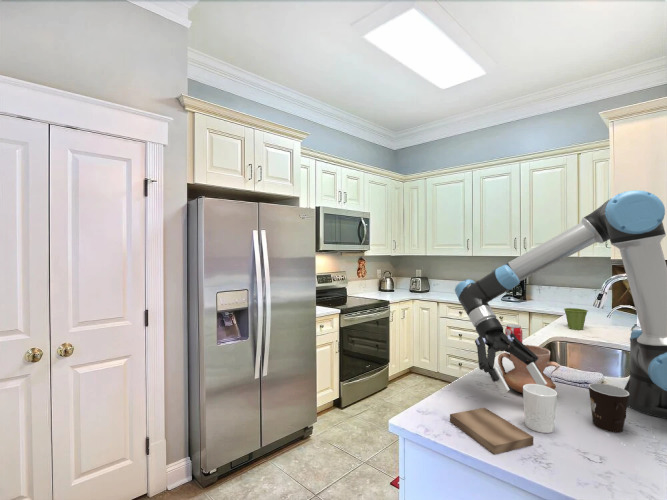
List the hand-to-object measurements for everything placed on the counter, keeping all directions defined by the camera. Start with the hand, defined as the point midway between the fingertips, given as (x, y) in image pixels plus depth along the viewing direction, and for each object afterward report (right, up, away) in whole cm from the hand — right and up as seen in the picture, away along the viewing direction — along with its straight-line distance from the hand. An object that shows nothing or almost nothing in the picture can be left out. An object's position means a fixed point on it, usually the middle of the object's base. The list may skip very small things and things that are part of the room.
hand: (525, 389), depth 97 cm
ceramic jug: (+12, -9, +20) cm, 25 cm away
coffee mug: (+20, -9, -4) cm, 22 cm away
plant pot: (+89, -8, +108) cm, 140 cm away
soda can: (+29, -8, +62) cm, 69 cm away
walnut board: (-13, -9, -6) cm, 17 cm away
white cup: (+2, -9, -3) cm, 10 cm away
